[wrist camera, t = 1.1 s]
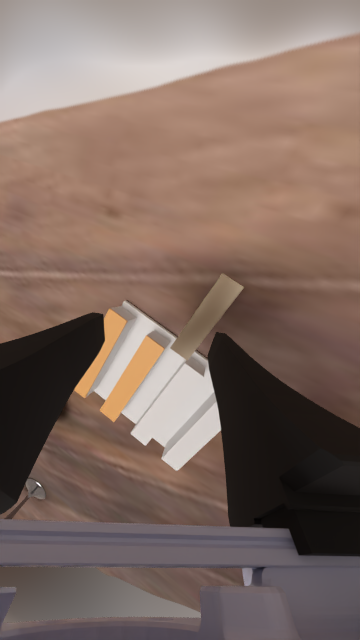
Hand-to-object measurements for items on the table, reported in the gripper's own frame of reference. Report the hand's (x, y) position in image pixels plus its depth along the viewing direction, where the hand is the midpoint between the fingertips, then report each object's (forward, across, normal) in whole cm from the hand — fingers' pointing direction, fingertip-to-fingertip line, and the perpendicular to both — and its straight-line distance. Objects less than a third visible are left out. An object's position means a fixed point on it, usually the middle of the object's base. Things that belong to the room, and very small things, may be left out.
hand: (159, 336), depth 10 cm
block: (+11, -6, +2) cm, 12 cm away
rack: (+8, 0, +16) cm, 18 cm away
